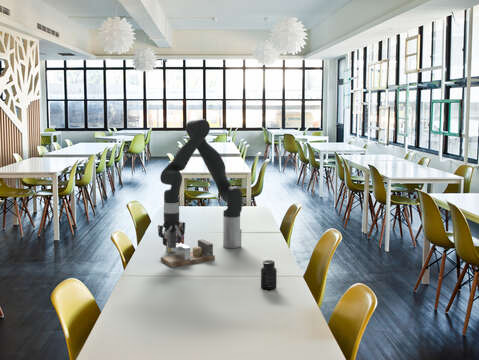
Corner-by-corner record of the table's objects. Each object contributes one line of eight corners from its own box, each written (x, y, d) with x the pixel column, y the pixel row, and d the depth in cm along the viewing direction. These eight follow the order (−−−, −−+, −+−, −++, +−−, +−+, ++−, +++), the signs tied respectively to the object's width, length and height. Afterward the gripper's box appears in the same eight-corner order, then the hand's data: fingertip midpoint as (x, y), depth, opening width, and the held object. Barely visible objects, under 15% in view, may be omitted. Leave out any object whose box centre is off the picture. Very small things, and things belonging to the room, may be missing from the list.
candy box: (169, 253, 271) (169, 224, 268) (165, 250, 274) (165, 223, 272) (184, 250, 276) (184, 222, 273) (180, 248, 279) (180, 221, 277)
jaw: (180, 253, 262) (180, 227, 260) (190, 259, 254) (190, 231, 252) (164, 256, 257) (164, 229, 255) (173, 262, 249) (173, 234, 247)
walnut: (198, 252, 265) (198, 246, 264) (203, 255, 261) (203, 248, 261) (191, 254, 262) (191, 247, 262) (195, 256, 259) (195, 249, 258)
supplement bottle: (259, 285, 226) (260, 259, 224) (275, 285, 226) (275, 259, 224) (261, 291, 219) (262, 264, 217) (277, 291, 219) (278, 264, 217)
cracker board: (202, 253, 271) (202, 238, 270) (214, 259, 261) (214, 244, 260) (161, 261, 258) (160, 245, 256) (172, 267, 248) (171, 251, 246)
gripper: (181, 208, 257) (181, 240, 260) (154, 211, 249) (155, 244, 252) (188, 210, 251) (188, 243, 254) (161, 214, 243) (161, 248, 246)
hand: (171, 244), depth 253 cm, fingers open, 6 cm apart
